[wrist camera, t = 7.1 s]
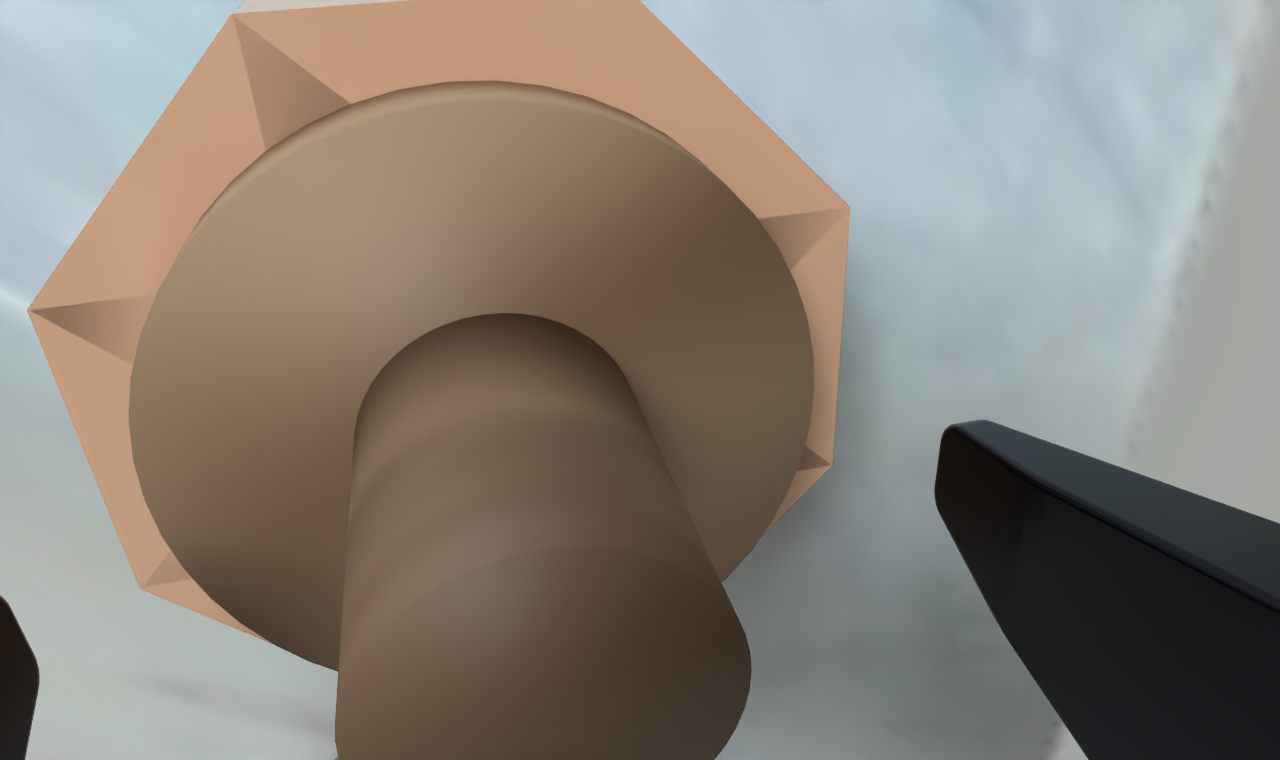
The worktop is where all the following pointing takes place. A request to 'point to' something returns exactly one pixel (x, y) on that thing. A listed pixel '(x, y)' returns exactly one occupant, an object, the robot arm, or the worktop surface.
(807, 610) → the worktop surface
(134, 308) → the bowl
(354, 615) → the lid
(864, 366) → the worktop surface
